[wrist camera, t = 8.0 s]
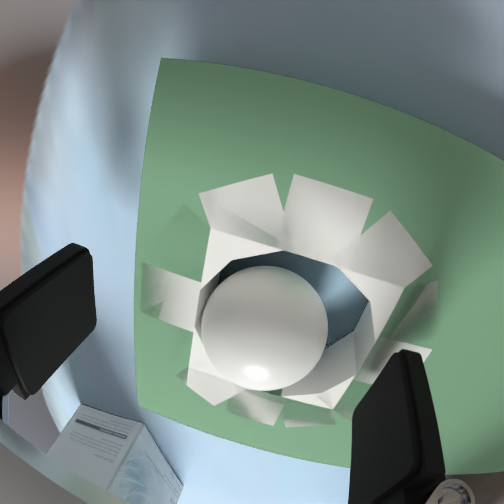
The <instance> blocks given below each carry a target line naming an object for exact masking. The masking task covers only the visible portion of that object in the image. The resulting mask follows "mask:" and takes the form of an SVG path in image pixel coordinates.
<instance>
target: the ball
mask: <svg viewBox="0 0 504 504" xmlns="http://www.w3.org/2000/svg"><path fill="white" fill-rule="evenodd" d="M201 334H202V341H203V345H204V348H205V351H206V354H207V356H208V358H209V359H210V361H211V363H212V364H213V365H214V367H215V368H216V369H217V370H218V371H219V372H220V373H221V374H222V375H223V376H224V377H225V378H227V379H228V380H230V381H231V382H233V383H235V384H237V385H239V386H241V387H244V388H248V389H252V390H259V391H270V390H277V389H281V388H284V387H288V386H290V385H292V384H294V383H296V382H298V381H299V380H301V379H302V378H303V377H305V376H306V375H307V374H308V373H309V372H310V371H311V370H312V369H313V368H314V367H315V365H316V364H317V362H318V361H319V360H320V358H321V355H322V353H323V351H324V349H325V345H326V341H327V337H328V319H327V314H326V310H325V307H324V304H323V302H322V300H321V298H320V297H319V295H318V293H317V292H316V291H315V289H314V288H313V287H312V286H311V285H310V284H309V283H308V282H307V281H306V280H305V279H303V278H302V277H301V276H299V275H298V274H296V273H294V272H292V271H290V270H287V269H284V268H280V267H276V266H255V267H249V268H246V269H243V270H240V271H238V272H236V273H234V274H232V275H231V276H229V277H228V278H226V279H225V280H224V281H223V282H222V283H220V284H219V286H218V287H217V288H216V289H215V290H214V291H213V293H212V294H211V296H210V297H209V299H208V301H207V303H206V306H205V308H204V312H203V316H202V323H201Z"/></svg>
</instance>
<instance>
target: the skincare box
mask: <svg viewBox="0 0 504 504" xmlns="http://www.w3.org/2000/svg"><path fill="white" fill-rule="evenodd" d="M46 455H48V456H49V457H51V458H52V459H54V460H55V461H57V462H58V463H60V464H61V465H63V466H64V467H66V468H68V469H69V470H71V471H72V472H74V473H76V474H77V475H79V476H81V477H82V478H84V479H86V480H88V481H89V482H91V483H93V484H95V485H97V486H98V487H100V488H102V489H104V490H106V491H108V492H110V493H112V494H114V495H116V496H118V497H120V498H122V499H124V500H126V501H128V502H130V503H132V504H177V502H178V499H179V497H180V494H181V492H182V489H183V485H182V484H181V482H180V481H179V479H178V478H177V476H176V475H175V473H174V472H173V470H172V469H171V467H170V465H169V464H168V462H167V461H166V459H165V458H164V456H163V454H162V453H161V451H160V449H159V448H158V446H157V444H156V443H155V441H154V439H153V437H152V436H151V434H150V432H149V430H148V429H147V427H146V425H145V424H144V423H141V422H137V421H134V420H130V419H126V418H122V417H119V416H115V415H112V414H109V413H106V412H103V411H100V410H97V409H94V408H91V407H88V406H85V405H82V404H81V405H80V406H79V407H78V409H77V410H76V412H75V413H74V415H73V416H72V418H71V419H70V421H69V422H68V423H67V425H66V426H65V428H64V429H63V431H62V432H61V433H60V435H59V436H58V438H57V439H56V440H55V442H54V443H53V445H52V446H51V448H50V449H49V450H48V452H47V453H46Z"/></svg>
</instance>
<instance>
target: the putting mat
mask: <svg viewBox="0 0 504 504" xmlns="http://www.w3.org/2000/svg"><path fill="white" fill-rule="evenodd" d="M283 250H284V251H288V252H291V253H294V254H297V255H301V256H304V257H307V258H311V259H314V260H317V261H320V262H324V263H327V264H330V265H333V266H337V267H338V268H339V269H340V270H341V271H342V272H343V273H344V274H345V275H346V276H347V277H348V278H349V279H350V281H351V282H352V283H353V284H354V285H355V286H356V287H357V288H358V289H359V290H360V291H361V292H362V293H363V295H364V296H365V297H366V298H367V299H368V300H369V301H368V303H367V305H366V307H365V309H364V311H363V313H362V315H361V317H360V319H359V321H358V323H357V325H356V327H355V329H354V331H353V332H351V333H350V334H348V335H347V336H345V337H343V338H342V339H340V340H339V341H337V342H336V343H334V344H333V345H331V346H329V347H328V348H326V349H324V351H323V353H322V355H321V358H320V360H319V361H318V362H317V364H316V365H315V367H314V368H313V369H312V370H311V371H310V372H309V373H308V374H307V375H306V376H305V377H303V378H302V379H301V380H299V381H298V382H296V383H294V384H292V385H290V386H288V387H284V388H281V389H277V390H270V391H259V390H252V389H248V388H244V387H241V386H239V385H237V384H235V383H233V382H231V381H230V380H228V379H227V378H225V377H224V376H223V375H222V374H221V373H220V372H219V371H218V370H217V369H216V368H215V367H214V365H213V364H212V363H211V361H210V359H209V358H208V356H207V354H206V351H205V348H204V345H203V341H202V334H201V323H202V316H203V312H204V308H205V306H206V303H207V301H208V299H209V297H210V296H211V294H212V293H213V291H214V290H215V289H216V288H217V287H218V282H219V277H220V272H221V270H222V269H223V268H224V267H225V266H226V265H227V264H228V263H229V262H230V261H231V260H236V259H241V258H246V257H251V256H257V255H262V254H267V253H272V252H277V251H283ZM134 347H135V372H136V389H137V403H138V406H140V407H143V408H145V409H147V410H149V411H152V412H154V413H156V414H159V415H161V416H163V417H166V418H168V419H171V420H173V421H176V422H178V423H181V424H184V425H186V426H189V427H192V428H194V429H197V430H200V431H203V432H205V433H208V434H211V435H214V436H217V437H220V438H223V439H226V440H230V441H233V442H236V443H239V444H243V445H246V446H250V447H253V448H257V449H261V450H264V451H268V452H272V453H276V454H280V455H284V456H289V457H293V458H298V459H302V460H307V461H312V462H317V463H323V464H328V465H334V466H341V467H347V468H351V445H352V416H353V412H354V410H355V408H356V406H357V405H358V404H359V402H360V401H361V399H362V398H363V397H364V395H365V394H366V393H367V391H368V390H369V388H370V387H371V385H372V384H373V383H374V381H375V380H376V378H377V377H378V375H379V374H380V372H381V371H382V369H383V368H384V366H385V365H386V363H387V362H388V360H389V359H390V357H391V356H392V354H393V353H395V352H397V353H398V352H399V351H400V350H401V349H406V350H410V351H414V352H418V353H420V354H421V356H422V360H423V363H424V367H425V371H426V375H427V379H428V383H429V387H430V391H431V395H432V400H433V404H434V409H435V413H436V418H437V423H438V428H439V434H440V439H441V445H442V451H443V457H444V464H445V471H446V473H445V475H458V474H481V473H494V472H504V161H503V160H502V159H500V158H498V157H496V156H495V155H493V154H491V153H489V152H487V151H486V150H484V149H482V148H480V147H478V146H476V145H474V144H472V143H470V142H469V141H467V140H465V139H463V138H460V137H458V136H456V135H454V134H452V133H450V132H448V131H446V130H444V129H442V128H439V127H437V126H435V125H433V124H430V123H428V122H426V121H423V120H421V119H419V118H416V117H414V116H411V115H409V114H406V113H404V112H401V111H399V110H396V109H394V108H391V107H388V106H385V105H383V104H380V103H377V102H374V101H371V100H368V99H366V98H363V97H359V96H356V95H353V94H350V93H347V92H344V91H340V90H337V89H334V88H330V87H327V86H323V85H319V84H316V83H312V82H308V81H304V80H300V79H296V78H292V77H287V76H283V75H278V74H274V73H269V72H264V71H259V70H254V69H248V68H242V67H236V66H230V65H223V64H216V63H209V62H201V61H192V60H182V59H170V58H161V61H160V66H159V71H158V76H157V81H156V86H155V91H154V96H153V102H152V107H151V113H150V119H149V126H148V132H147V139H146V146H145V153H144V161H143V169H142V178H141V187H140V197H139V208H138V221H137V235H136V253H135V279H134Z"/></svg>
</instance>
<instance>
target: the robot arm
mask: <svg viewBox="0 0 504 504" xmlns="http://www.w3.org/2000/svg"><path fill="white" fill-rule="evenodd" d="M96 322H97V319H96V308H95V296H94V280H93V259H92V256H91V255H90V252H89V250H88V249H87V248H85V247H83V246H80V245H78V244H75V243H71V244H69V245H67V246H65V247H64V248H62V249H61V250H59V251H58V252H56V253H54V254H53V255H51V256H50V257H48V258H47V259H45V260H44V261H42V262H41V263H39V264H38V265H36V266H35V267H33V268H32V269H31V270H29V271H28V272H26V273H25V274H23V275H22V276H20V277H19V278H18V279H16V280H15V281H13V282H12V283H11V284H9V285H8V286H7V287H5V288H4V289H2V290H1V291H0V504H132V503H130V502H128V501H126V500H124V499H122V498H120V497H118V496H116V495H114V494H112V493H110V492H108V491H106V490H104V489H102V488H100V487H98V486H97V485H95V484H93V483H91V482H89V481H88V480H86V479H84V478H82V477H81V476H79V475H77V474H76V473H74V472H72V471H71V470H69V469H68V468H66V467H64V466H63V465H61V464H60V463H58V462H57V461H55V460H54V459H52V458H51V457H49V456H48V455H46V454H45V453H43V452H42V451H40V450H39V449H38V448H36V447H35V446H33V445H32V444H31V443H29V442H28V441H27V440H25V439H24V438H23V437H22V436H20V435H19V434H17V433H16V432H15V431H14V430H12V429H11V428H10V427H9V417H8V399H9V397H8V396H9V395H8V394H9V392H10V391H11V390H12V389H13V391H14V392H15V393H16V394H18V395H19V396H20V397H22V398H23V399H24V400H26V399H27V398H28V397H29V395H30V394H31V395H33V394H35V393H36V392H37V391H38V390H39V389H40V388H41V387H42V386H43V385H44V383H45V382H46V381H47V380H48V379H49V378H50V377H51V375H52V374H53V373H54V372H55V371H56V370H57V369H58V368H59V367H60V365H61V364H62V363H63V362H64V361H65V360H66V359H67V358H68V357H69V356H70V355H71V353H72V352H73V351H74V350H75V349H76V348H77V347H78V346H79V345H80V344H81V343H82V342H83V341H84V339H85V338H86V337H87V336H88V335H89V334H90V333H91V332H92V331H93V330H94V328H95V326H96ZM445 473H446V471H445V464H444V457H443V451H442V445H441V439H440V434H439V428H438V423H437V418H436V413H435V409H434V404H433V400H432V395H431V391H430V387H429V383H428V379H427V375H426V371H425V367H424V363H423V360H422V356H421V354H420V353H418V352H414V351H410V350H406V349H401V350H400V351H399V352H398V353H397V352H395V353H393V354H392V356H391V357H390V359H389V360H388V362H387V363H386V365H385V366H384V368H383V369H382V371H381V372H380V374H379V375H378V377H377V378H376V380H375V381H374V383H373V384H372V385H371V387H370V388H369V390H368V391H367V393H366V394H365V395H364V397H363V398H362V399H361V401H360V402H359V404H358V405H357V406H356V408H355V410H354V412H353V416H352V445H351V469H350V485H349V499H348V504H475V498H474V494H473V492H472V490H471V488H470V487H469V486H468V485H467V484H466V483H465V482H463V481H461V480H459V479H454V478H453V479H447V480H445Z"/></svg>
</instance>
